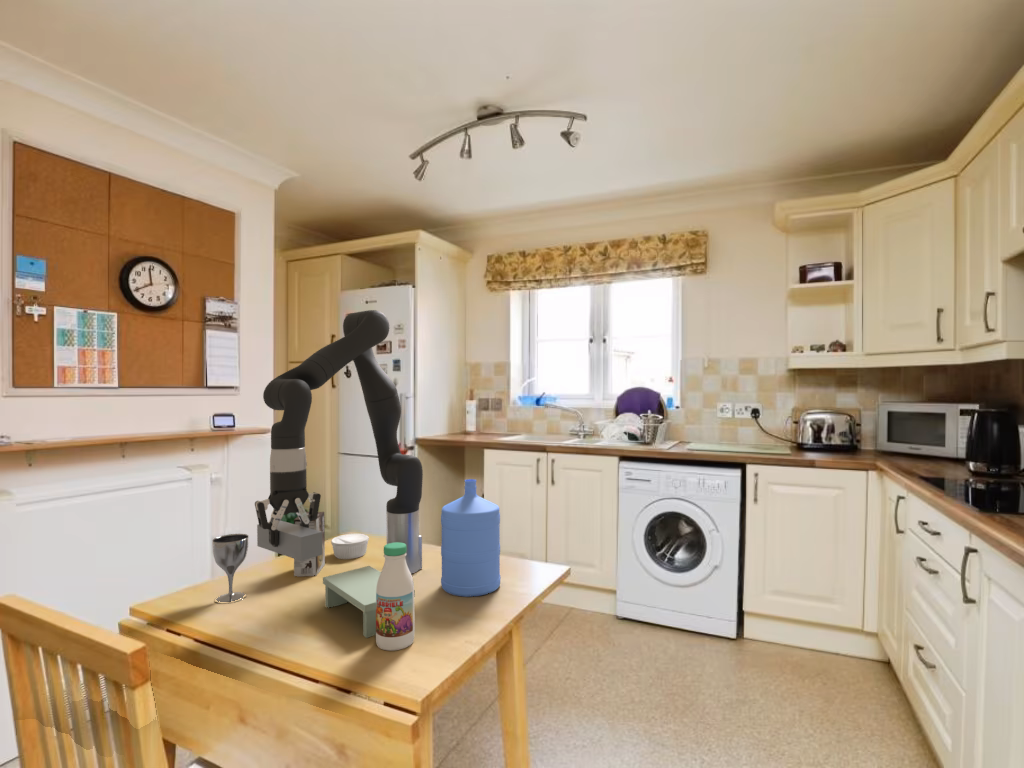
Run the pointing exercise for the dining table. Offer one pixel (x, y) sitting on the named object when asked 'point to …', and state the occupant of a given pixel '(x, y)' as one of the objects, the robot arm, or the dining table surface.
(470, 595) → the water jug
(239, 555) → the wine glass
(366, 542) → the ramekin
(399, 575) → the milk bottle
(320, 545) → the grey rectangular brick
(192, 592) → the dining table surface
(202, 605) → the dining table surface
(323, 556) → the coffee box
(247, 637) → the dining table surface
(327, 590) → the sage shelf
